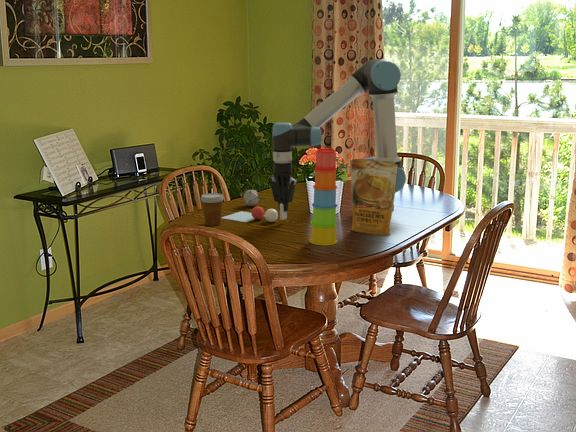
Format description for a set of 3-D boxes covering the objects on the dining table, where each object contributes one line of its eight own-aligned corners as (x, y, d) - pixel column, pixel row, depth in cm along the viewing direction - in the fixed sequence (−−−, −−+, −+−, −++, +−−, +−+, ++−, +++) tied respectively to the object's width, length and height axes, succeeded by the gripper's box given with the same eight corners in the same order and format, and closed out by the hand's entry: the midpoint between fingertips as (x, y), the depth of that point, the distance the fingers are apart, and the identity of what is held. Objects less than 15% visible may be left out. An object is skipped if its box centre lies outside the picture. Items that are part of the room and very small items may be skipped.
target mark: (266, 215, 304) (266, 215, 304) (246, 222, 293) (246, 222, 293) (241, 211, 312) (241, 211, 312) (220, 218, 301) (220, 217, 301)
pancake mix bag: (353, 227, 282) (353, 157, 276) (398, 233, 273) (399, 161, 266) (345, 231, 277) (345, 160, 270) (390, 237, 267) (392, 163, 260)
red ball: (269, 212, 297) (261, 202, 298) (261, 215, 293) (253, 205, 294) (262, 220, 300) (254, 210, 301) (254, 223, 296) (246, 213, 297)
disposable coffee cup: (203, 227, 286) (202, 198, 283) (200, 222, 295) (198, 193, 292) (226, 225, 288) (225, 196, 285) (222, 220, 297) (221, 192, 294)
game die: (254, 213, 324) (266, 195, 325) (252, 211, 316) (264, 192, 317) (238, 203, 326) (250, 184, 326) (235, 200, 317) (247, 181, 318)
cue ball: (270, 205, 295) (268, 216, 297) (263, 208, 290) (260, 220, 292) (281, 210, 292) (278, 222, 295) (274, 214, 288) (271, 225, 290)
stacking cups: (335, 238, 267) (335, 146, 259) (338, 245, 257) (338, 150, 249) (308, 238, 267) (307, 147, 259) (310, 246, 257) (309, 151, 249)
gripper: (263, 161, 285) (265, 218, 291) (290, 164, 278) (291, 222, 283) (274, 159, 291) (276, 215, 296) (301, 161, 283) (301, 219, 289)
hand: (283, 218), depth 290 cm, fingers closed
